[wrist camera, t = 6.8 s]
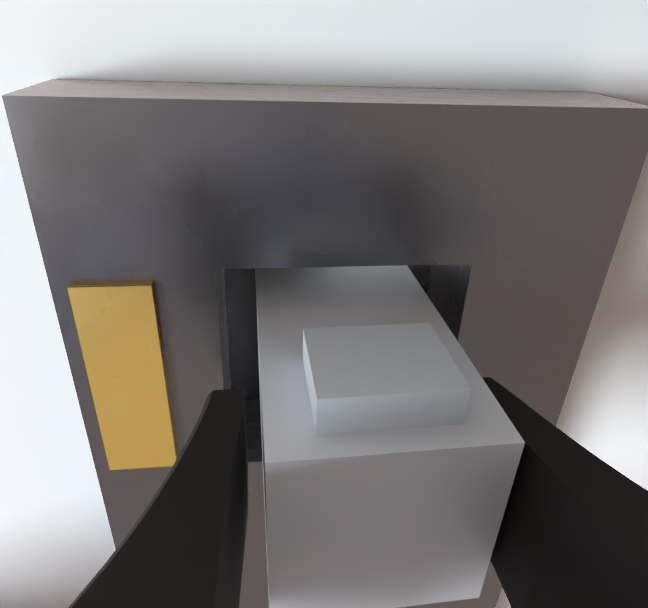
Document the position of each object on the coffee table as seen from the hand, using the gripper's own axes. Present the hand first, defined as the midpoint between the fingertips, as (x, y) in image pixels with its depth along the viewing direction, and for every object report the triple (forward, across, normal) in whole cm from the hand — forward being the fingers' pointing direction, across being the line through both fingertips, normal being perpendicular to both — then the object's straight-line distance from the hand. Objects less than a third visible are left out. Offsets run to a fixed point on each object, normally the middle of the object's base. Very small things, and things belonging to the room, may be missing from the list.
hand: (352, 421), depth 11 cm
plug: (+4, 0, 0) cm, 4 cm away
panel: (+4, 0, +6) cm, 7 cm away
